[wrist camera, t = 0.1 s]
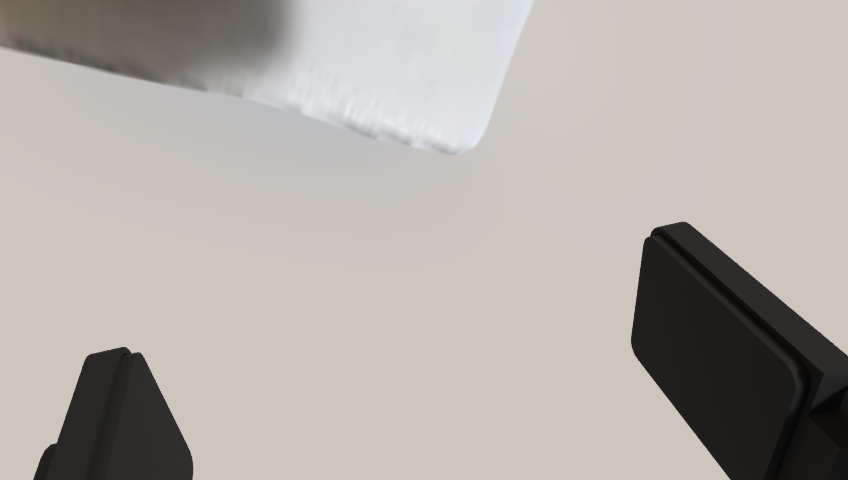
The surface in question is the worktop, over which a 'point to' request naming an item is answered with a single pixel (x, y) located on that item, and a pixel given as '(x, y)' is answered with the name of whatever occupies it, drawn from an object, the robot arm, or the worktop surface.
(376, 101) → the worktop surface
